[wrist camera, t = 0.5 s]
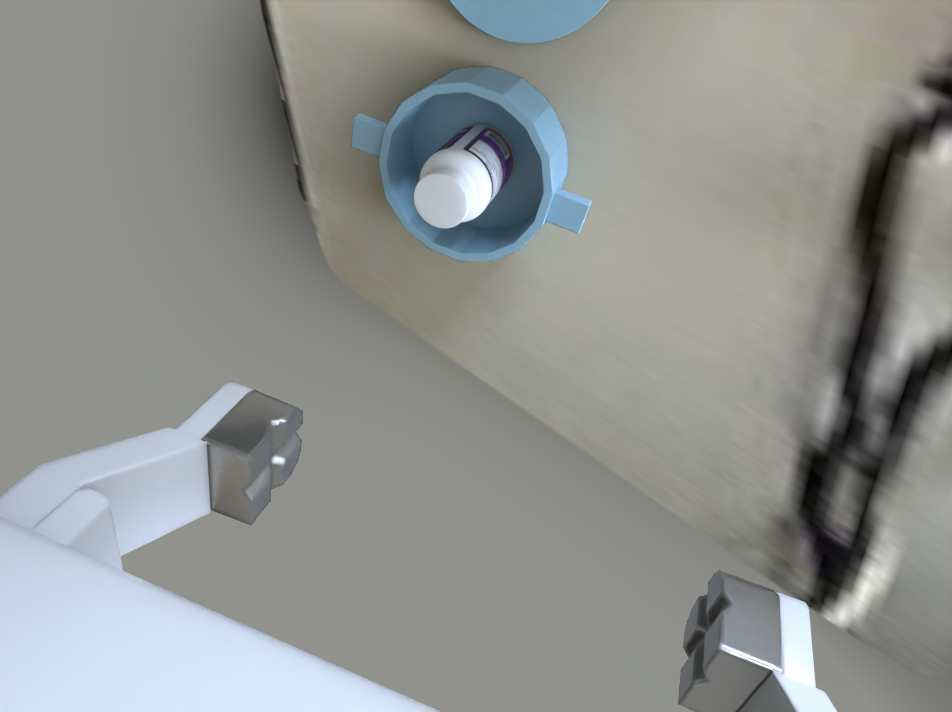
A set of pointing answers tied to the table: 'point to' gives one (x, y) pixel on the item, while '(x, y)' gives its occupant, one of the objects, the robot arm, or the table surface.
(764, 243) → the table surface
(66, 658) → the robot arm
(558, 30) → the pan lid
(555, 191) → the pan
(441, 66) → the table surface
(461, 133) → the pill bottle
